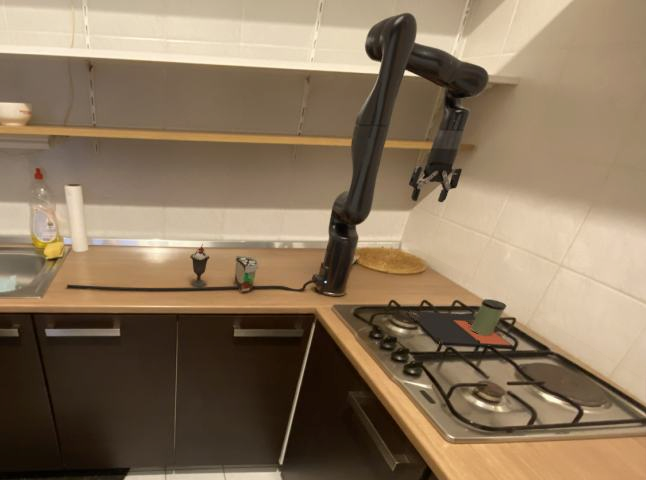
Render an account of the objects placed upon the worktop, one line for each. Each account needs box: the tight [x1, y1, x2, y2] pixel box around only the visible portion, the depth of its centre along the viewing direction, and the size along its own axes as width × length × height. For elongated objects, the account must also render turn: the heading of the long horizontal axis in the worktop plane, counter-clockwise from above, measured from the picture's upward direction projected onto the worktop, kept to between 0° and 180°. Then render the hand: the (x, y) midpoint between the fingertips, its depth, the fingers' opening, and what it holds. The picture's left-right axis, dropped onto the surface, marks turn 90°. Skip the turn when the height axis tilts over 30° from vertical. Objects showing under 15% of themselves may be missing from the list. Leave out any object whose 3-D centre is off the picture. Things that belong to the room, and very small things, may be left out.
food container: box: [233, 255, 259, 294], centre depth 133 cm, size 12×6×10 cm, turn 9°
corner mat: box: [411, 310, 515, 350], centre depth 113 cm, size 20×20×1 cm
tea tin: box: [471, 298, 507, 336], centre depth 108 cm, size 5×5×9 cm
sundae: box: [189, 243, 211, 287], centre depth 133 cm, size 7×7×15 cm
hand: (427, 201), depth 128 cm, fingers open, 8 cm apart
